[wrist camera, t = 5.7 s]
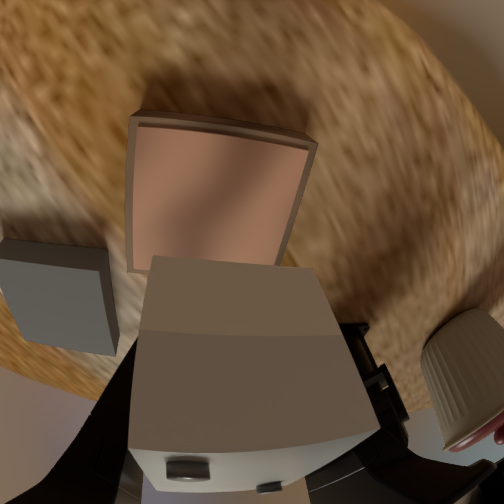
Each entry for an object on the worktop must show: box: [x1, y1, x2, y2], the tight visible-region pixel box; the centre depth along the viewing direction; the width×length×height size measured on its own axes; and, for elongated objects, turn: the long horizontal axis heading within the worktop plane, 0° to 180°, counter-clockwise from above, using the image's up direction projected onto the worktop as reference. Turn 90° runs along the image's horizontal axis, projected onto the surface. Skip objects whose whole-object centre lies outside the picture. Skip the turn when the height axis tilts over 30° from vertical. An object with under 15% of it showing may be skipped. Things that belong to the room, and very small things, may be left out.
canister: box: [421, 309, 504, 452], centre depth 28 cm, size 18×18×21 cm
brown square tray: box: [125, 110, 318, 274], centre depth 17 cm, size 10×10×2 cm
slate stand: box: [0, 239, 120, 357], centre depth 20 cm, size 10×10×2 cm
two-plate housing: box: [128, 255, 380, 495], centre depth 7 cm, size 6×4×5 cm
